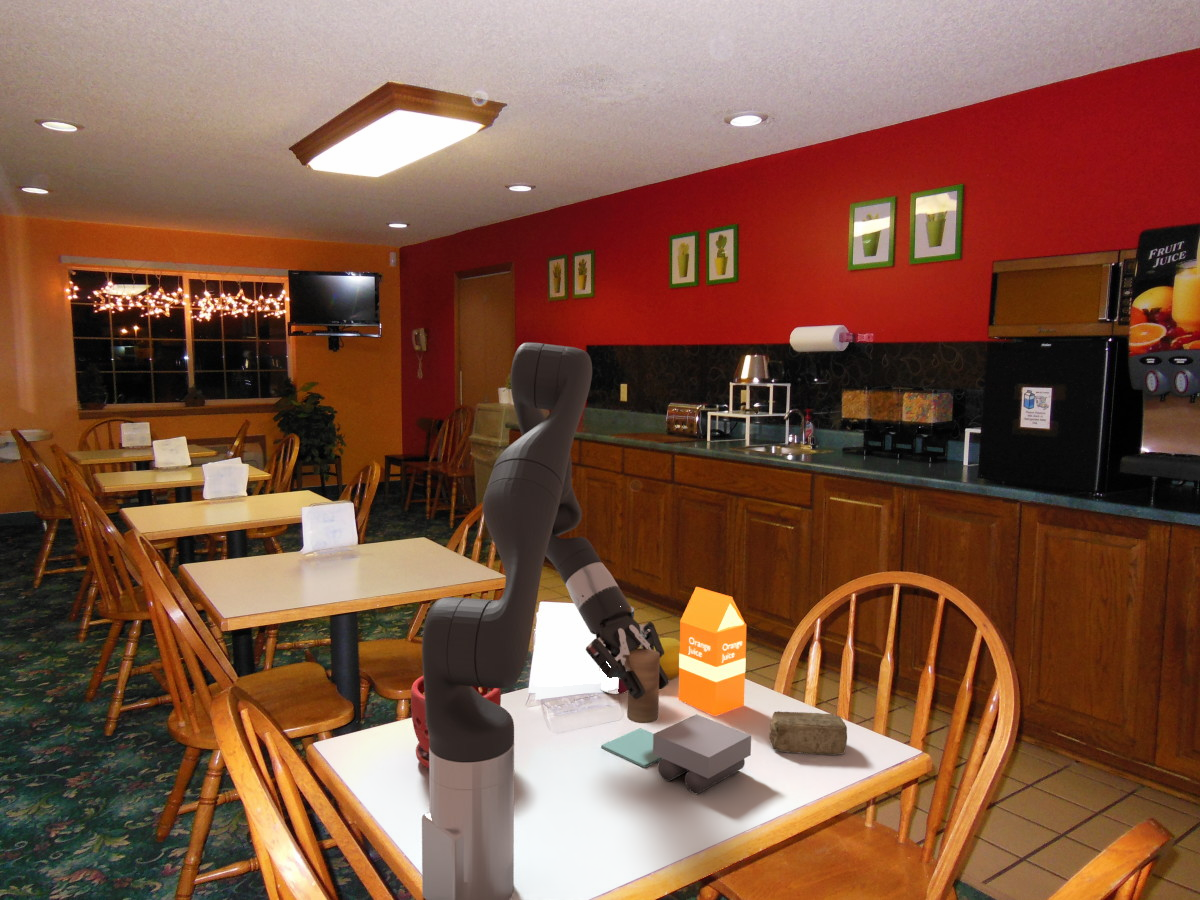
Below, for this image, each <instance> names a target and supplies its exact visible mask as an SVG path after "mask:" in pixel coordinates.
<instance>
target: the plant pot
mask: <svg viewBox="0 0 1200 900" xmlns="http://www.w3.org/2000/svg"><path fill="white" fill-rule="evenodd" d="M472 687H473V688H474V689H475V690H476V691H477V692H478V693H479V694H480V695H482V696H483V697H484V698H486V699H488V700H489V701H491V702H493V703H495V704H497V705H499V706H501V703H502V702H501V701H502V688H485V687H480V688H481V689H482V691H479V687H474V686H472ZM489 690H490V692H488V691H489ZM410 708H411V709H410V711H411V720H412V725H413V729H414V730H413V731H414V734H415V737H416V738H417V742H418V743H417V744H416V747H415V757H416V759H417V760H418V762H420V764H421V765H422V766H424V767H425V768H427V769H429V733H428V729H427V725H426V715H425V692H424V677H423V675H421V676H420V677H418V678H417V679H416V680H415V681H414V682H413V684H412V685H411V689H410Z"/></svg>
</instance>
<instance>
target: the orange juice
mask: <svg viewBox="0 0 1200 900" xmlns="http://www.w3.org/2000/svg"><path fill="white" fill-rule="evenodd" d="M679 623H680V626H679V627H680V628H679V630H680V631H679V642H680V653H679V676H678V701H680V700H681V701H680V702H682V701H683V703H684V702H686V703H688V704H687V705H689V704H690V705H689V706H691V705H692V706H691V707H693V706H694V708H695V707H696V709H697V710H700V709H701V710H700V711H702V710H703V711H702V712H704V711H705V713H707V714H709V715H711V716H713V715H714V717H716V715H717V716H720V715H721V714H724V713H727V712H730V711H732V709H733V710H735V709H738V708H740V707H743V706H745V689H746V688H745V685H746V684H745V683H746V681H745V680H746V679H745V678H746V662H747V661H746V658H747V657H746V652H747V623H745V621H744V618H743V617H742V615H741V612H740V611H739V609H738V607H737V605H736V603H735V600H734V598H733V596H730V595H726V594H723V593H719V592H716V591H714V590H713V591H712V590H709V589H705V588H703V587H699V586H696V587H695V589H694V591H693V593H692V595H691V597H690V599H689V601H688V603H687V606H686V608H685V610H684V612H683V614H682V617H681V618H680V621H679ZM686 703H685V704H686Z"/></svg>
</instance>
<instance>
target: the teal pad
mask: <svg viewBox="0 0 1200 900" xmlns="http://www.w3.org/2000/svg"><path fill="white" fill-rule="evenodd" d="M653 734H654V733H653V732H651V731H648V730H646V729H644V728H641V727H640V728H639V727H638V728H637V729H635V730H633V731H630V732H628V733H626V734H623V735H621V736H619V737H617V738H614V739H612V740H610V741H608V742H605V743H603V744H601V745H600V748H601V749H602V750H605V751H607V752H609V753H612V754H614V755H616V756H619V757H620V758H623V759H625V760H627V761H629V762H631V763H633V764H635V765H638V766H639V767H642V768H644V769H646V768H647V767H650V766H651V765H653V764H656V763H657V762H659V761H660V760H662V759H663V758H661V757H659V756H656V755H654V754H653Z"/></svg>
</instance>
